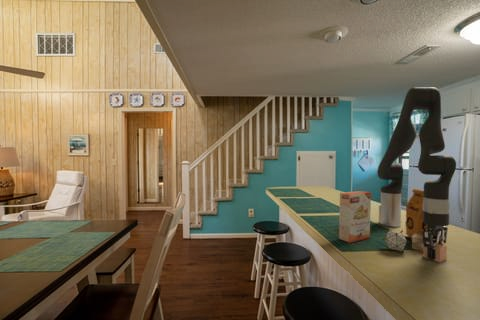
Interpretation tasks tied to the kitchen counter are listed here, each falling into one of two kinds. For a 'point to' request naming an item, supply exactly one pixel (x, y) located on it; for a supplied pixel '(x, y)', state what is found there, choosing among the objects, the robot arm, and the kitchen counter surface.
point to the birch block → (417, 242)
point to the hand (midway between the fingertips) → (434, 256)
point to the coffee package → (415, 214)
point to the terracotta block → (438, 252)
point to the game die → (395, 240)
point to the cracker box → (354, 216)
